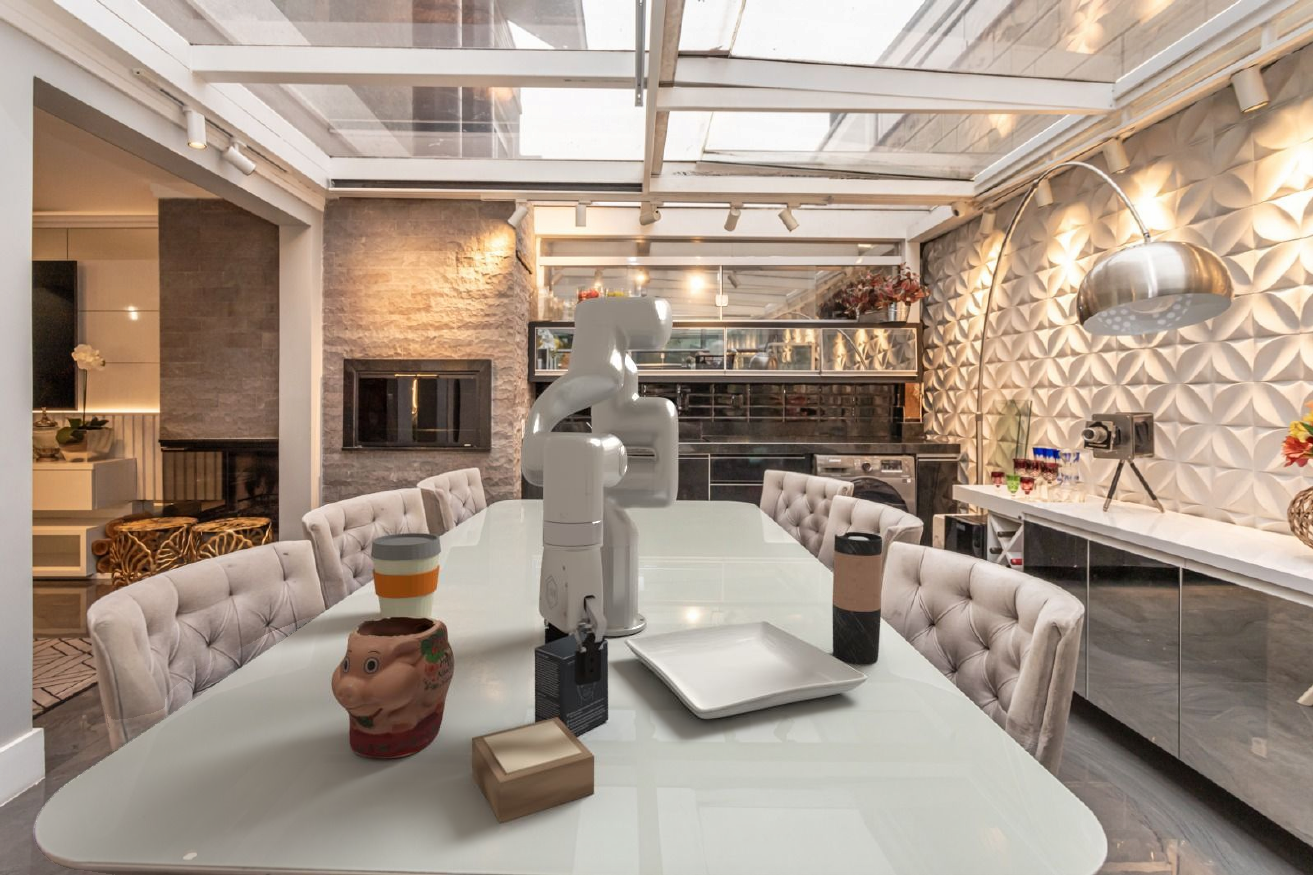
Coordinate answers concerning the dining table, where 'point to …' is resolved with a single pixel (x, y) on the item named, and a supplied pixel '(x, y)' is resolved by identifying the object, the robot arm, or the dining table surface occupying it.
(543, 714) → the box
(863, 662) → the travel mug
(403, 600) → the reusable coffee cup
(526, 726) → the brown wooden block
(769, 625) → the square plate
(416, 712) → the decorative planter
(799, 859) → the dining table surface
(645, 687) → the dining table surface
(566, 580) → the robot arm
